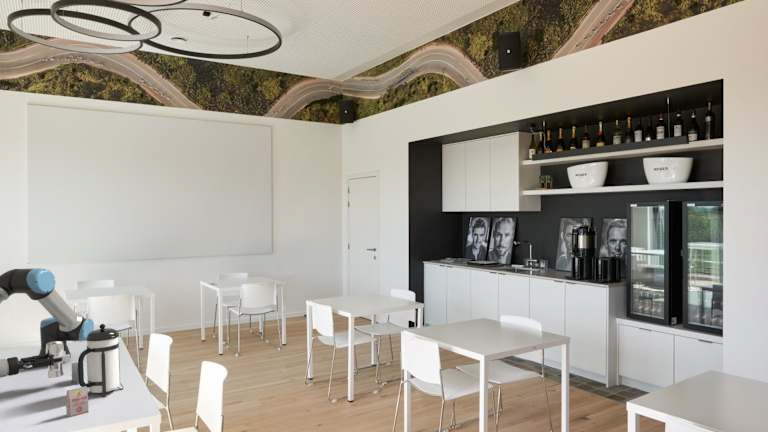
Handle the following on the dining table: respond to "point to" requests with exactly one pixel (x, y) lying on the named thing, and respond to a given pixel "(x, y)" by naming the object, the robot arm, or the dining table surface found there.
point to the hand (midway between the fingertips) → (67, 355)
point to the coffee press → (101, 361)
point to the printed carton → (77, 401)
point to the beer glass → (54, 351)
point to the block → (75, 373)
